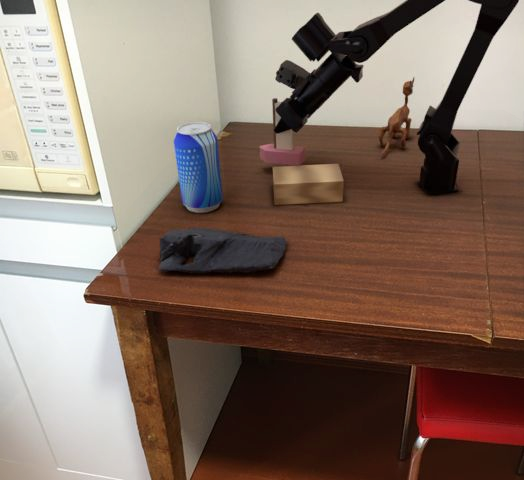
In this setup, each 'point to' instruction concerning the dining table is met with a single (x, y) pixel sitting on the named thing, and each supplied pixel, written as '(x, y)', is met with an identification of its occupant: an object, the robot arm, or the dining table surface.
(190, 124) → the beer can
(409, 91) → the brown animal figurine
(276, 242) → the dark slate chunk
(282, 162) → the toy boat
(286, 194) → the wood block
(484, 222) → the dining table surface
